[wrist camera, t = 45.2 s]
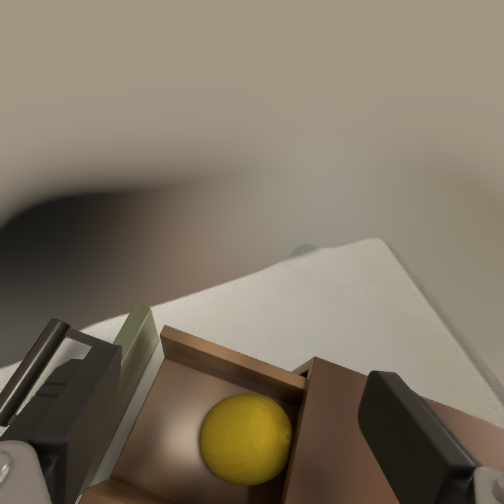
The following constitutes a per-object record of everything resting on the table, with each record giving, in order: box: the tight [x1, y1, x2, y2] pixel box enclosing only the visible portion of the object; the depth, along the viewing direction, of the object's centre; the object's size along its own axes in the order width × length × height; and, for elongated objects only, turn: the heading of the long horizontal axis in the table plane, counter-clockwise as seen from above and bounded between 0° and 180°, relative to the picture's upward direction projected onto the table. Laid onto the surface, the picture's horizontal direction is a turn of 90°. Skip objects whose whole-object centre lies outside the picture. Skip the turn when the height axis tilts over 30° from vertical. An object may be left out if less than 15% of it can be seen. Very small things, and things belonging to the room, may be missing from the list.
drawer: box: [0, 303, 307, 504], centre depth 23 cm, size 21×12×8 cm, turn 72°
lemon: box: [200, 394, 293, 486], centre depth 23 cm, size 6×6×8 cm
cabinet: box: [281, 357, 504, 504], centre depth 23 cm, size 17×13×10 cm
